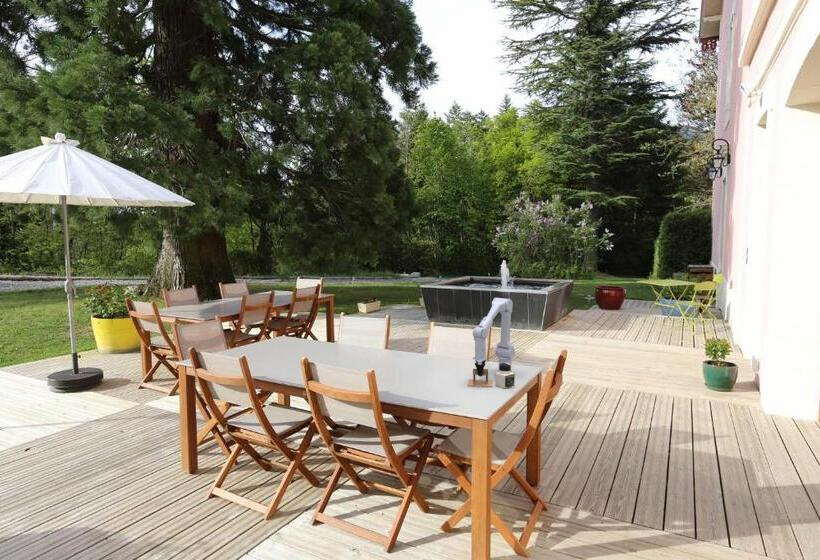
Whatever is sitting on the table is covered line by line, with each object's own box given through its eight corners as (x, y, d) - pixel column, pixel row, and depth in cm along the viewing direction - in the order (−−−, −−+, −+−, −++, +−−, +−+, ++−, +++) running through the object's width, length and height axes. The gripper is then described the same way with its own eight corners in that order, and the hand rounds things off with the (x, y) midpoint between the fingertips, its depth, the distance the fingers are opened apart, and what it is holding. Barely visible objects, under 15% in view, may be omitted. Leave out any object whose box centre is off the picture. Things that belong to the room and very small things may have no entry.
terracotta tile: (468, 380, 289) (468, 379, 289) (492, 381, 287) (492, 380, 287) (467, 386, 278) (467, 385, 278) (492, 387, 276) (492, 386, 276)
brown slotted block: (473, 379, 285) (473, 368, 285) (488, 379, 284) (488, 368, 284) (472, 382, 280) (472, 371, 280) (488, 382, 279) (488, 371, 279)
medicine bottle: (505, 389, 273) (505, 366, 272) (495, 385, 278) (495, 363, 277) (514, 386, 277) (514, 364, 276) (504, 383, 283) (504, 361, 281)
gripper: (473, 346, 288) (473, 370, 290) (471, 352, 274) (472, 378, 276) (486, 346, 287) (486, 371, 288) (485, 352, 273) (485, 378, 274)
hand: (480, 374), depth 282 cm, fingers closed on brown slotted block, 5 cm apart
